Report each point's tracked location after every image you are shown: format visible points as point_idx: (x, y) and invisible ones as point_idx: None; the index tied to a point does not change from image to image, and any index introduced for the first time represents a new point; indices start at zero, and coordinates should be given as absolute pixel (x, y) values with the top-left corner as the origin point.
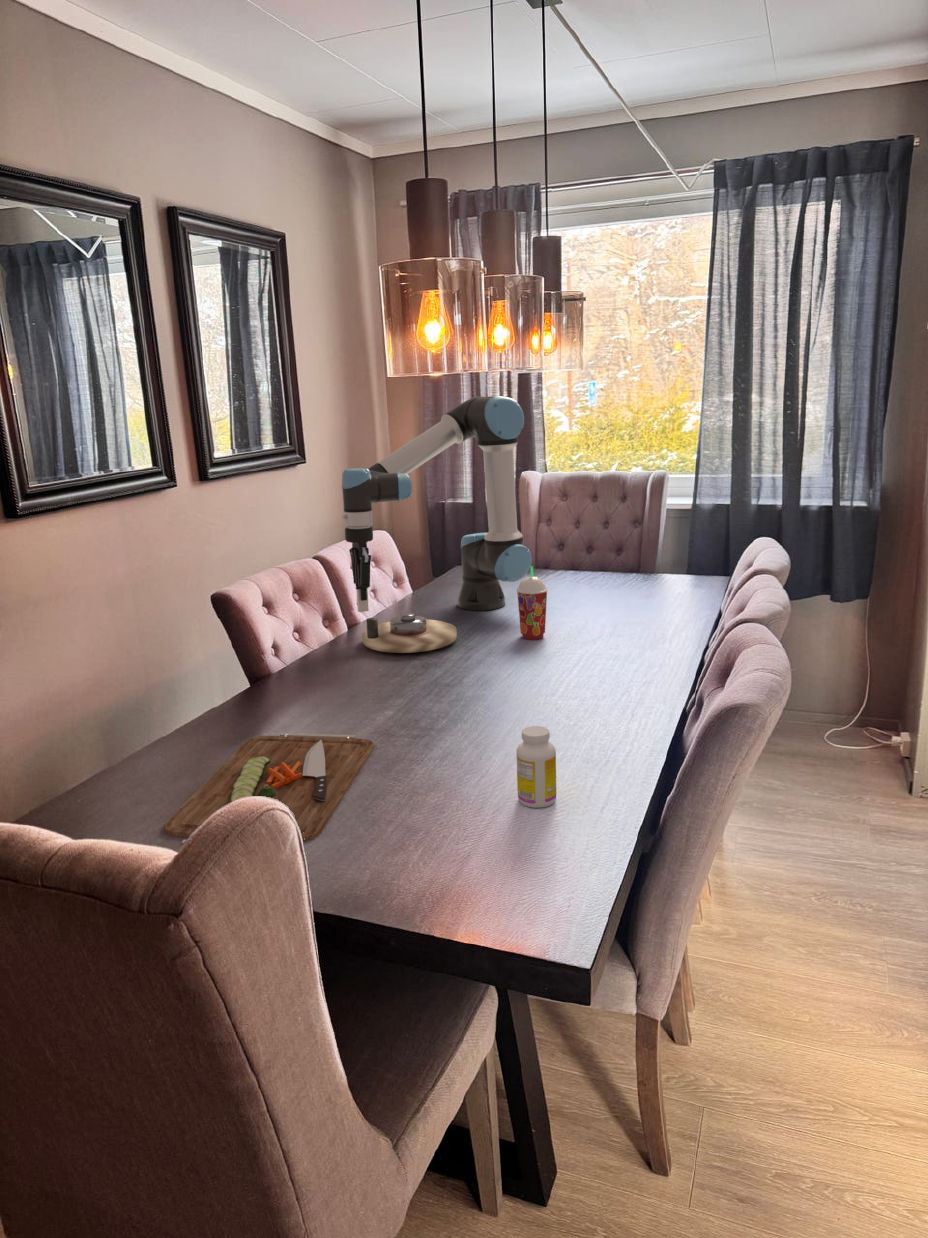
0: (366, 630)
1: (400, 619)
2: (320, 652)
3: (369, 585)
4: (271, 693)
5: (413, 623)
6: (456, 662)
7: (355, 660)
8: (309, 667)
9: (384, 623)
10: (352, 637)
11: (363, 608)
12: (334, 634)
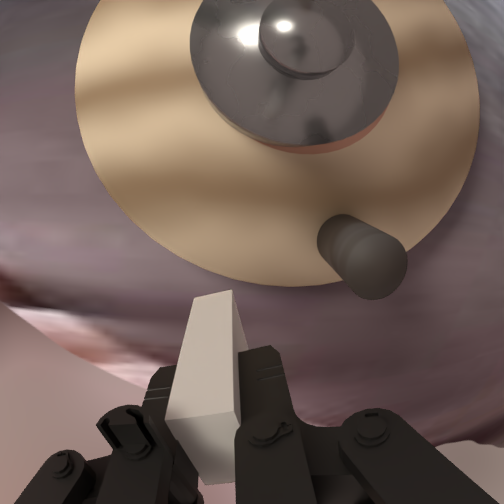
0: (217, 264)
1: (269, 76)
2: (308, 396)
3: (404, 424)
4: (495, 415)
5: (375, 34)
6: (500, 31)
7: (430, 295)
8: (420, 398)
9: (110, 169)
10: (149, 303)
11: (241, 333)
12: (104, 357)
